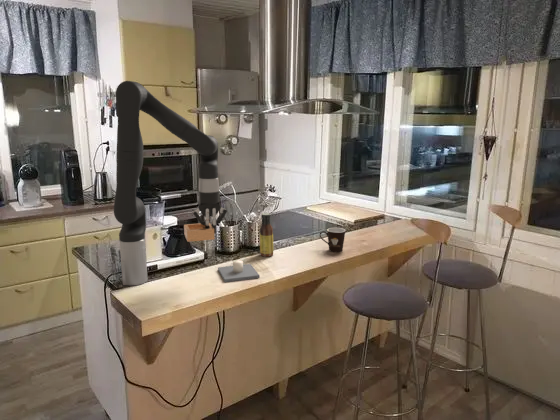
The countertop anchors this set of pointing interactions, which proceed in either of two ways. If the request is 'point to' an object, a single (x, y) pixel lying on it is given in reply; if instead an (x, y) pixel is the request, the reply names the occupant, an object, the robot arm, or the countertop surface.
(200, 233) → the brown wooden open box
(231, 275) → the post base
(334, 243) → the coffee mug
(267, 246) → the sauce bottle
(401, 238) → the countertop surface
